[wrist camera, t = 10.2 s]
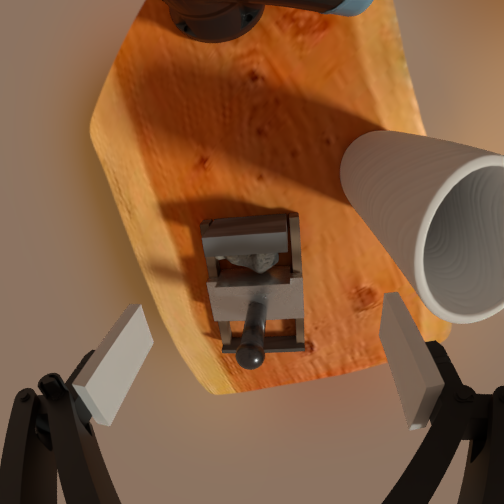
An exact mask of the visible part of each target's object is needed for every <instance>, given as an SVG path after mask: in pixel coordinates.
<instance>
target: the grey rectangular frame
mask: <svg viewBox="0 0 504 504" xmlns="http://www.w3.org/2000/svg"><path fill="white" fill-rule="evenodd" d="M289 220H290V233H291V247H292V263H293V273H302V261H301V243H300V227H299V214H298V213H289ZM200 229H201V235H202V243H203V248H204V254H205V257H206V263H207V268H208V273H209V278H211V277H219V276H220V273H221V272H220V266H219V260H218V259H216V258H215V257H217V256H233V255H249V254H265V253H281V252H288V232H287V218H286V214H273V215H260V216H247V217H234V218H223V219H215V220H214V221H213V222H212V219H211V220H203V221H202V223H201V224H200ZM218 324H219V329H220V334H221V338H222V343H223V347H222V353H236V350H237V348H238V347H239V346H240V344H241V339H242V337H238V338H232V333H231V328H230V323H229V321H218ZM263 349H264V351H265V353H272V352H296V351H305V345H304V318H296V336H274V337H264V345H263Z"/></svg>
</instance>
